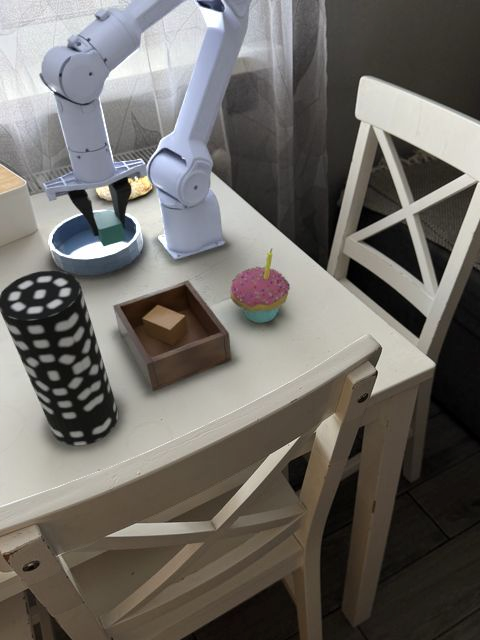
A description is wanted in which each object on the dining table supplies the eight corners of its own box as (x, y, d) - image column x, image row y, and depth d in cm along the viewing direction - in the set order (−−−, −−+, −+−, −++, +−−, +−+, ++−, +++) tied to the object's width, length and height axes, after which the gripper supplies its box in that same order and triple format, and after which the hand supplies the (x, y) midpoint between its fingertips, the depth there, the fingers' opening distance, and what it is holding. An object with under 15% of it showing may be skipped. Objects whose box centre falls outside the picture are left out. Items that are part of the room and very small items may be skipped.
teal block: (115, 225, 94) (111, 208, 92) (125, 240, 91) (122, 223, 89) (94, 231, 93) (89, 214, 91) (103, 246, 90) (99, 229, 88)
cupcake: (296, 301, 91) (296, 234, 83) (278, 337, 85) (277, 268, 77) (243, 291, 93) (238, 224, 85) (223, 325, 87) (216, 257, 79)
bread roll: (125, 170, 124) (122, 148, 120) (165, 191, 120) (163, 169, 116) (85, 194, 118) (80, 172, 114) (125, 217, 114) (122, 195, 110)
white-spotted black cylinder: (57, 397, 78) (8, 273, 64) (121, 392, 78) (85, 267, 65) (45, 448, 72) (-12, 323, 58) (115, 442, 72) (74, 317, 59)
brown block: (160, 320, 88) (157, 304, 86) (187, 331, 86) (185, 315, 84) (145, 334, 86) (142, 318, 84) (172, 345, 84) (169, 330, 82)
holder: (192, 306, 91) (188, 279, 88) (231, 360, 82) (229, 333, 79) (119, 331, 87) (112, 305, 84) (152, 391, 78) (146, 364, 75)
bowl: (126, 218, 110) (122, 201, 108) (156, 259, 100) (153, 241, 98) (44, 242, 105) (38, 225, 103) (67, 287, 95) (61, 269, 93)
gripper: (129, 121, 87) (144, 205, 96) (28, 144, 82) (54, 229, 91) (145, 139, 82) (160, 225, 91) (39, 164, 77) (66, 252, 87)
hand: (108, 229), depth 91 cm, fingers closed on teal block, 3 cm apart
